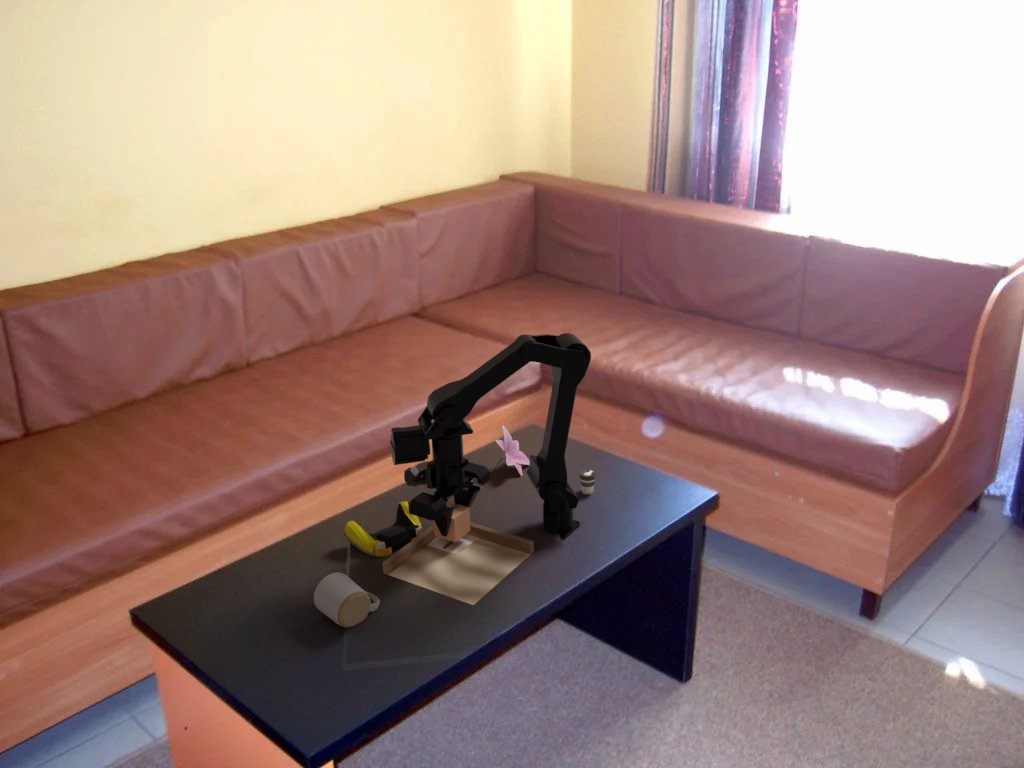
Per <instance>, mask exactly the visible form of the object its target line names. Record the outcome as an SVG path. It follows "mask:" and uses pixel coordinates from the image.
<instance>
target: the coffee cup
mask: <svg viewBox="0 0 1024 768" xmlns="http://www.w3.org/2000/svg"><path fill="white" fill-rule="evenodd" d="M578 477H579V481H580V488H581V489H580V490H581V493H582V494H584V495H591V494H594V489H595V484H596V472H595V470H592V469H584V470H581V472H579V476H578Z"/></svg>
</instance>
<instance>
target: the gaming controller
mask: <svg viewBox="0 0 1024 768" xmlns="http://www.w3.org/2000/svg"><path fill="white" fill-rule="evenodd" d="M408 503H409V501H401V502H398V503H397V504H398V505H397V510H396V519H395V521H394V523H393V524H392V525H391V526H389V527H386V528H384V529H380V530H378V531H376V532H373V533H367V532H366V531H365V530H364V529H363V528H362V526H360V525H359V524H358V523H357V522H356V521H355V520H349V521H348V522H347V523H346V525H345V527H344V535H345V537H346V539H347V541H348V542H349V543H351V545H353V546H354V547H355V548H356V549H358V550H359V551H360V552H362V553H364V554H366V555H368V556H371V557H377V558H378V557H387V556H390V555H392V554H394V553H396V552H397V551H399V550H400V549H401V548H403V547H404V546H405V545H407V544H408V543H410V542H411V541H412V540H414V539H415V538H416V537H418V536H419V535H420V534H422V533H423V532H424V531H423V526H422V524H421V521H420V518H419V517H418V516H415V515H412V514H409V508H408Z"/></svg>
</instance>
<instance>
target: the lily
mask: <svg viewBox="0 0 1024 768" xmlns="http://www.w3.org/2000/svg"><path fill="white" fill-rule="evenodd" d="M502 430H503V431H502V433H503V438H504V439H503V440H501V439H495V442H496V443H497V444H498V445H499V447H500V448H501V449H502V450H503V456H502V457H501V459H499V460H498V462H497V464H496V465H495V466H494V469H496V468H497V467H498V465H499V464H500V463H501V462H502V461H503V459H505V458H506V459H505V460H506V466H515V468H516V470H517V471H518V474H519V475H520V476H521V477H523V468H522V465H527V466H529V464H530V458H528V457H527V456H526V454H525V453H524V452H523V451H521V450H520V444H519V441H518V439H517V440H516V439H515V440H513V437H512V436H511V433H509V431H508V428H506V427H505V426H504V425H502Z"/></svg>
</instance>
